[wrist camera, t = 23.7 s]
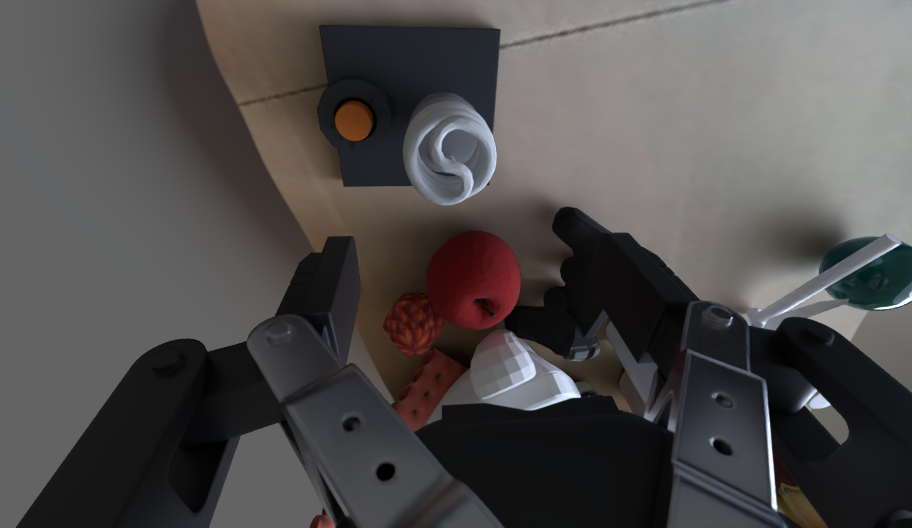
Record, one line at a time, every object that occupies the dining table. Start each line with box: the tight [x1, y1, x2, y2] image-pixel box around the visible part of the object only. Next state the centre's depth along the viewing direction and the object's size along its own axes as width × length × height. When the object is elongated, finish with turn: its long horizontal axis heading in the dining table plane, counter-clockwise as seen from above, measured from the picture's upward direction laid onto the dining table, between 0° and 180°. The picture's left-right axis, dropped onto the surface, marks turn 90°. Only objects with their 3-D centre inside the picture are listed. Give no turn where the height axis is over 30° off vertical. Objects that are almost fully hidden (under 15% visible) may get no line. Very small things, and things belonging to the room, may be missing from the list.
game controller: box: [504, 207, 611, 361], centre depth 39 cm, size 16×7×10 cm, turn 162°
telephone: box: [425, 329, 581, 425], centre depth 42 cm, size 16×20×9 cm
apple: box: [426, 231, 521, 330], centre depth 35 cm, size 9×9×10 cm
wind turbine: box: [746, 233, 902, 330], centre depth 42 cm, size 4×14×21 cm
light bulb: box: [403, 92, 497, 205], centre depth 25 cm, size 6×6×12 cm
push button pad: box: [317, 25, 501, 187], centre depth 30 cm, size 14×12×3 cm
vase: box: [772, 452, 828, 528], centre depth 48 cm, size 11×11×26 cm
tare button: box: [335, 101, 373, 141], centre depth 28 cm, size 3×3×2 cm
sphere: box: [819, 236, 912, 311], centre depth 40 cm, size 8×8×8 cm
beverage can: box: [606, 321, 657, 405], centre depth 42 cm, size 5×5×12 cm
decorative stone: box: [382, 293, 446, 356], centre depth 39 cm, size 6×7×8 cm
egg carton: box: [310, 348, 469, 528], centre depth 50 cm, size 28×28×2 cm
